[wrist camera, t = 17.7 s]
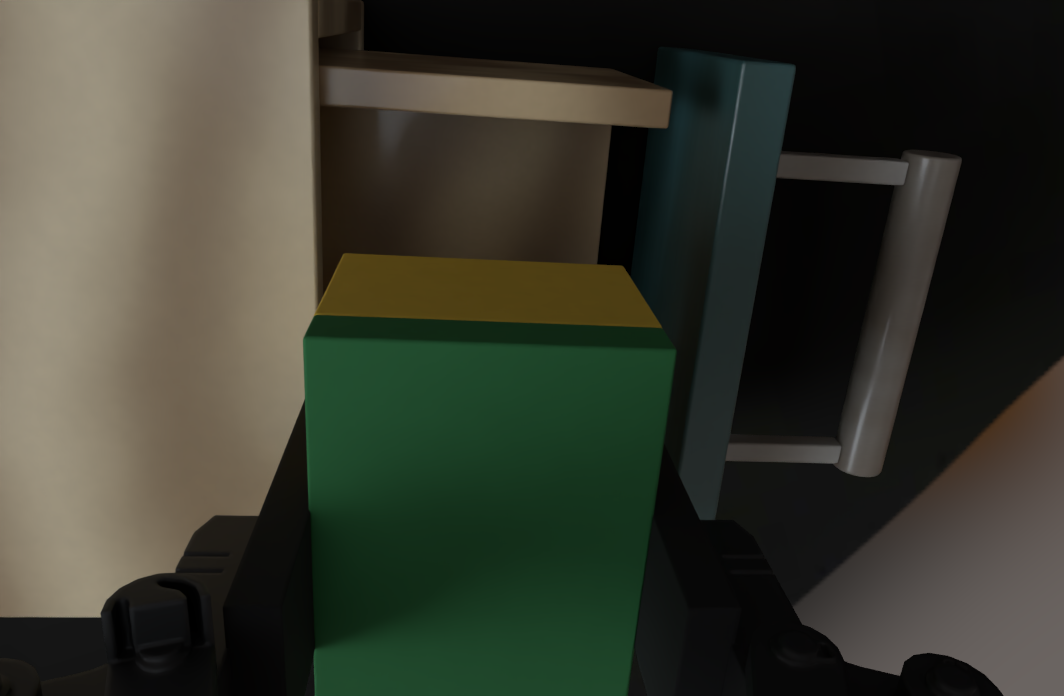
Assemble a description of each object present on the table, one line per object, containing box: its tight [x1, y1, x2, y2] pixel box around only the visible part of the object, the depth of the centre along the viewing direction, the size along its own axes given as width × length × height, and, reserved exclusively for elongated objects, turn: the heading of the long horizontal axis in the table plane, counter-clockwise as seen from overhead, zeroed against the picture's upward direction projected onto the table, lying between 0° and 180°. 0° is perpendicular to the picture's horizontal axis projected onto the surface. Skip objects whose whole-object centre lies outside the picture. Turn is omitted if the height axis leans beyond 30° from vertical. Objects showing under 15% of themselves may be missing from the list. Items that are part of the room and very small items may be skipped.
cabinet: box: [0, 0, 364, 617], centre depth 21 cm, size 15×14×10 cm
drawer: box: [319, 47, 962, 520], centre depth 23 cm, size 20×13×8 cm, turn 86°
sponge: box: [303, 253, 677, 696], centre depth 16 cm, size 8×6×4 cm, turn 176°
